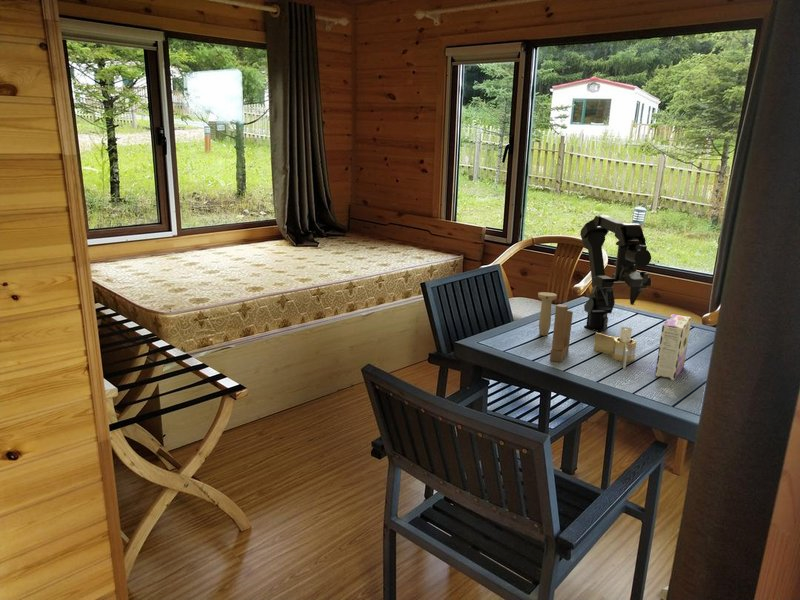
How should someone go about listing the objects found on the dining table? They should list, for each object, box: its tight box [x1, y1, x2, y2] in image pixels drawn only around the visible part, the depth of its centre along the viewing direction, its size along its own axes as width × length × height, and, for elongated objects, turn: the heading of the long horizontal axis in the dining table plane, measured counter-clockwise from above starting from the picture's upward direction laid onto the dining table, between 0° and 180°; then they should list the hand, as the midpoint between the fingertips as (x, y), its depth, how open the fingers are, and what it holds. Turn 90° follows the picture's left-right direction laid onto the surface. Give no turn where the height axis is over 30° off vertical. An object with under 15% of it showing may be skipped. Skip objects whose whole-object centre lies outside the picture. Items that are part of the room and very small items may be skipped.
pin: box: [619, 326, 633, 343], centre depth 193 cm, size 3×3×10 cm
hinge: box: [593, 331, 637, 370], centre depth 193 cm, size 16×12×6 cm
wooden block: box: [549, 303, 574, 363], centre depth 192 cm, size 4×11×18 cm, turn 153°
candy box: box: [654, 313, 692, 381], centre depth 182 cm, size 14×6×16 cm, turn 145°
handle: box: [537, 291, 558, 337], centre depth 213 cm, size 5×6×15 cm
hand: (619, 305), depth 207 cm, fingers open, 9 cm apart
